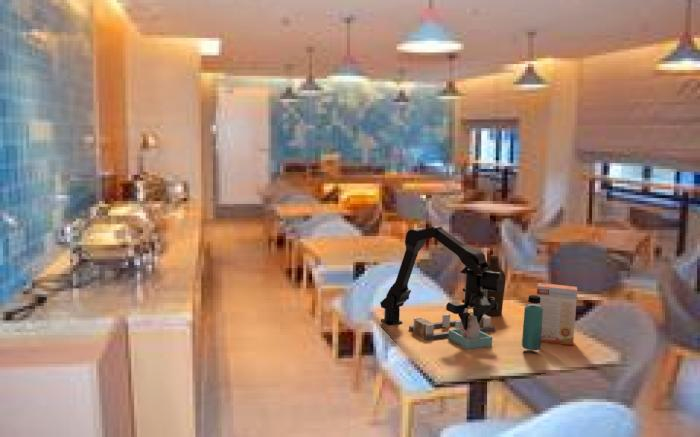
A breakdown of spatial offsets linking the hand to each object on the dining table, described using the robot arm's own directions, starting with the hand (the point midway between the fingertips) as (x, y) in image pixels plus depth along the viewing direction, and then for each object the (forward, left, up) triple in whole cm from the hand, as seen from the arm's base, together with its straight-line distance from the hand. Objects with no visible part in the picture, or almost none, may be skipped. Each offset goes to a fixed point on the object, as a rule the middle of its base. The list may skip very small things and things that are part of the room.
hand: (470, 329), depth 228 cm
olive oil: (-28, +31, -5) cm, 42 cm away
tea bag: (-1, 0, -5) cm, 5 cm away
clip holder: (-14, +2, -5) cm, 15 cm away
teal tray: (0, 0, -5) cm, 5 cm away
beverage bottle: (+15, +15, -5) cm, 22 cm away
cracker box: (+9, +31, -5) cm, 33 cm away
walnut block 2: (-14, +15, -5) cm, 21 cm away
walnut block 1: (-14, -11, -5) cm, 18 cm away
